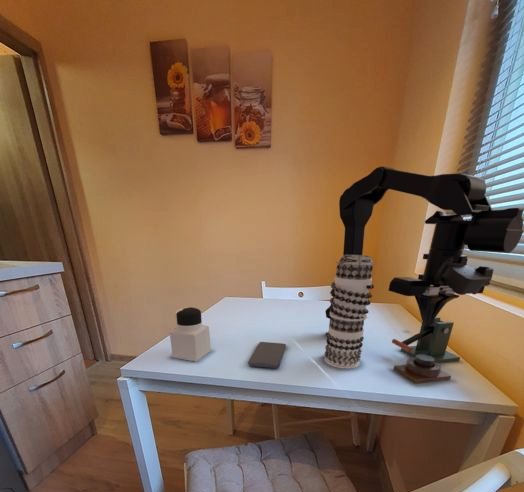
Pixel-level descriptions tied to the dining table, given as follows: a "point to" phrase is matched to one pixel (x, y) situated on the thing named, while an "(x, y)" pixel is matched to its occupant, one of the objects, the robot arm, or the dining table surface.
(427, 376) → the button block
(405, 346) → the lever
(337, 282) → the decorative candle
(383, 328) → the dining table surface
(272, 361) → the smartphone
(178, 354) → the medicine bottle
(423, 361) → the button
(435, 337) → the bracket
